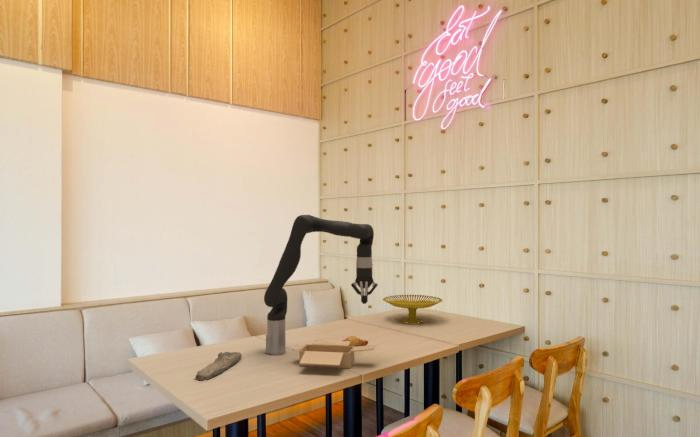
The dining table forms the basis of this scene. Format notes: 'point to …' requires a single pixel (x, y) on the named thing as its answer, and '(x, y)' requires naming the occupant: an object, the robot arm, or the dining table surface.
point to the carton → (329, 347)
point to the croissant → (356, 341)
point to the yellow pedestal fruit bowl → (412, 305)
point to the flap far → (363, 348)
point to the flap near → (322, 358)
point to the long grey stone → (219, 365)
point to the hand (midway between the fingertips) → (364, 303)
